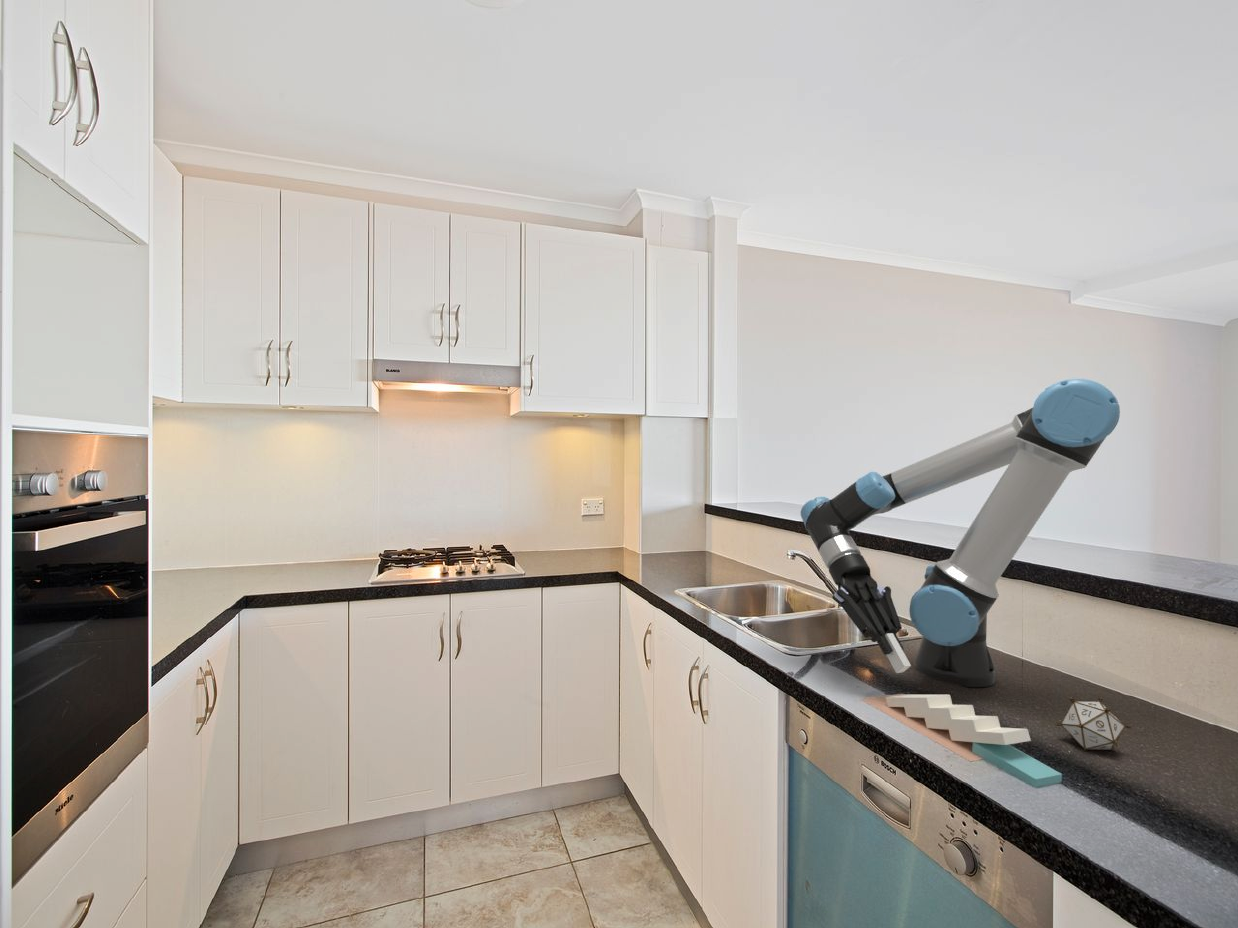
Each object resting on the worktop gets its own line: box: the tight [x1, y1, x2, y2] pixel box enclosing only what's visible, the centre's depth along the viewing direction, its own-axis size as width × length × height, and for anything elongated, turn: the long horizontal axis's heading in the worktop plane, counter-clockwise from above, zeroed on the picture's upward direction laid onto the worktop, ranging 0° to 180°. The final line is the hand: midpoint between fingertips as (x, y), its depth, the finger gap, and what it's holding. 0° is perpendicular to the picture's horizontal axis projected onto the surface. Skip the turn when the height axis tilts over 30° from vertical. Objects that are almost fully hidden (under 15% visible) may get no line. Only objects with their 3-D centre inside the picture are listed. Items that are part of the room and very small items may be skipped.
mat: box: [860, 693, 984, 763], centre depth 102 cm, size 24×10×1 cm, turn 18°
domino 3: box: [925, 715, 1001, 731], centre depth 97 cm, size 2×5×10 cm
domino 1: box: [886, 694, 953, 708], centre depth 105 cm, size 2×5×10 cm
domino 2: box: [904, 704, 976, 719], centre depth 101 cm, size 2×5×10 cm
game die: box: [1054, 696, 1133, 753], centre depth 95 cm, size 9×8×10 cm
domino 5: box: [972, 742, 1063, 788], centre depth 88 cm, size 2×5×10 cm
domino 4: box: [949, 726, 1032, 745], centre depth 92 cm, size 2×5×10 cm
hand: (903, 669), depth 109 cm, fingers closed
